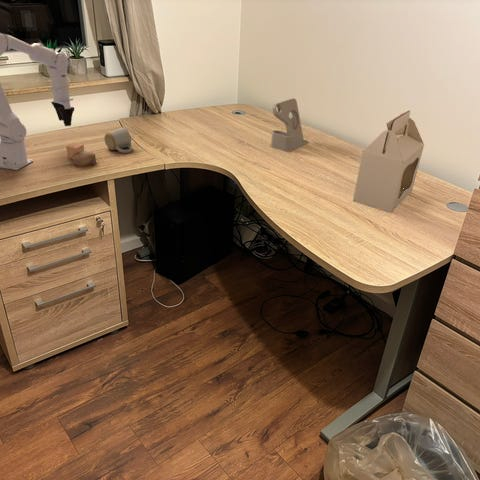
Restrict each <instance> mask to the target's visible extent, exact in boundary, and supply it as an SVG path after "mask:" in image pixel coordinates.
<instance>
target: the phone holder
mask: <svg viewBox="0 0 480 480" xmlns="http://www.w3.org/2000/svg"><path fill="white" fill-rule="evenodd" d="M272 113H273V116H274V117H276V118H277V119H278V120H280V121H281V122H282V123H284V125H285V129H286V132H285V131H282V130H273V131H272V132H271V141H270V148H272V149H274V150H275V149H276V150H279V151H282V152H286V153H290V152H293V151H295V150H297V149H299V148H301V147H303V146H306V145H308V144H309V140H306V139H304V135H303V134H304V133H303V128H302V123H301V118H300V112H299V108H298V102H297V99H296V98H294V97H293V98H288V99H286V100H283V101H280V102H277V103H274V104H273V106H272ZM290 113H291V117H290Z"/></svg>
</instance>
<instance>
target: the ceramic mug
mask: <svg viewBox="0 0 480 480" xmlns="http://www.w3.org/2000/svg"><path fill="white" fill-rule="evenodd" d="M103 139H104V143H105V145H106V147H107V148H108V150H111V151H116V150H117V151H118V152H120V153H122V154H128V153H131V151H132V148H133V147H132V136H131V134H130V132H129V130H128V129H127V128H126V127H119V128H116V129H114V130H111V131H108V132H107V133H105V135H104V138H103ZM125 148H129V149H125Z"/></svg>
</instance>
